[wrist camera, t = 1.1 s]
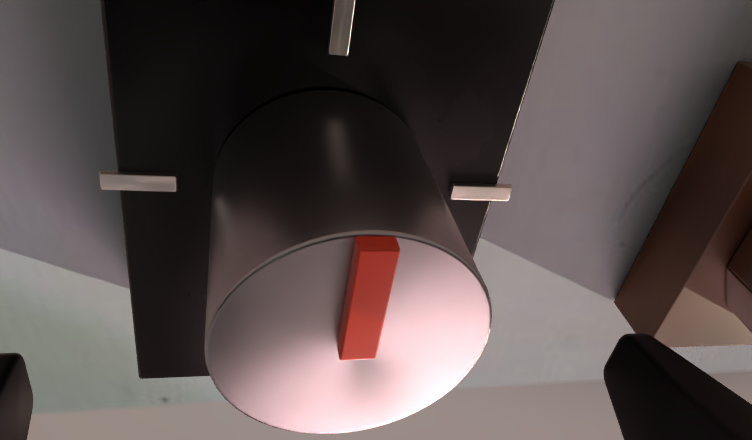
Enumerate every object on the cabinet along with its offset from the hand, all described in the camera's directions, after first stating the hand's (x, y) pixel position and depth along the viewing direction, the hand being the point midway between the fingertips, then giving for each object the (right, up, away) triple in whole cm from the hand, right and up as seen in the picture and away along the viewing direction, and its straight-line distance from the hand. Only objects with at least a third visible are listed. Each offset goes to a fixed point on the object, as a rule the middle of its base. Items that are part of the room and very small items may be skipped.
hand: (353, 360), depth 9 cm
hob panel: (-1, +5, +6) cm, 8 cm away
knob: (-1, +3, +4) cm, 5 cm away
